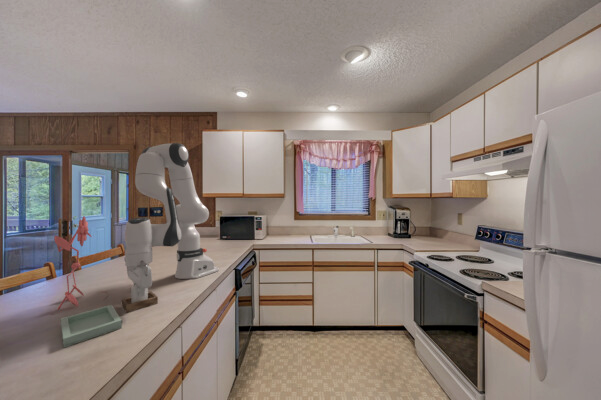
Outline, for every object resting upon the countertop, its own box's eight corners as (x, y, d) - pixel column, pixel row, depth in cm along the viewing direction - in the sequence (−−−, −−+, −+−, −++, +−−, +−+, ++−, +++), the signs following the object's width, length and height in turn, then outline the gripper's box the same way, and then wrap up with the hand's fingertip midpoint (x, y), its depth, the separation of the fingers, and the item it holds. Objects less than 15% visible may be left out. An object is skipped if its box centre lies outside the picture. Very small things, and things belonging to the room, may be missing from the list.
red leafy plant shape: (45, 319, 79) (47, 218, 80) (69, 294, 101) (70, 215, 102) (103, 308, 88) (104, 217, 88) (113, 287, 109) (114, 214, 110)
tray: (60, 325, 75) (60, 318, 75) (111, 311, 85) (111, 304, 85) (63, 347, 64) (63, 338, 64) (121, 327, 74) (121, 320, 74)
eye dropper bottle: (130, 305, 90) (129, 274, 90) (146, 300, 94) (146, 271, 94) (132, 308, 87) (131, 277, 87) (149, 303, 91) (149, 273, 91)
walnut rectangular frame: (151, 297, 97) (151, 291, 97) (157, 303, 91) (157, 296, 91) (121, 305, 89) (121, 299, 89) (126, 312, 84) (126, 305, 84)
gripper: (156, 261, 86) (157, 298, 86) (141, 253, 99) (142, 285, 99) (136, 265, 81) (137, 304, 81) (123, 256, 95) (123, 289, 95)
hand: (139, 294), depth 90 cm, fingers closed on eye dropper bottle, 4 cm apart
